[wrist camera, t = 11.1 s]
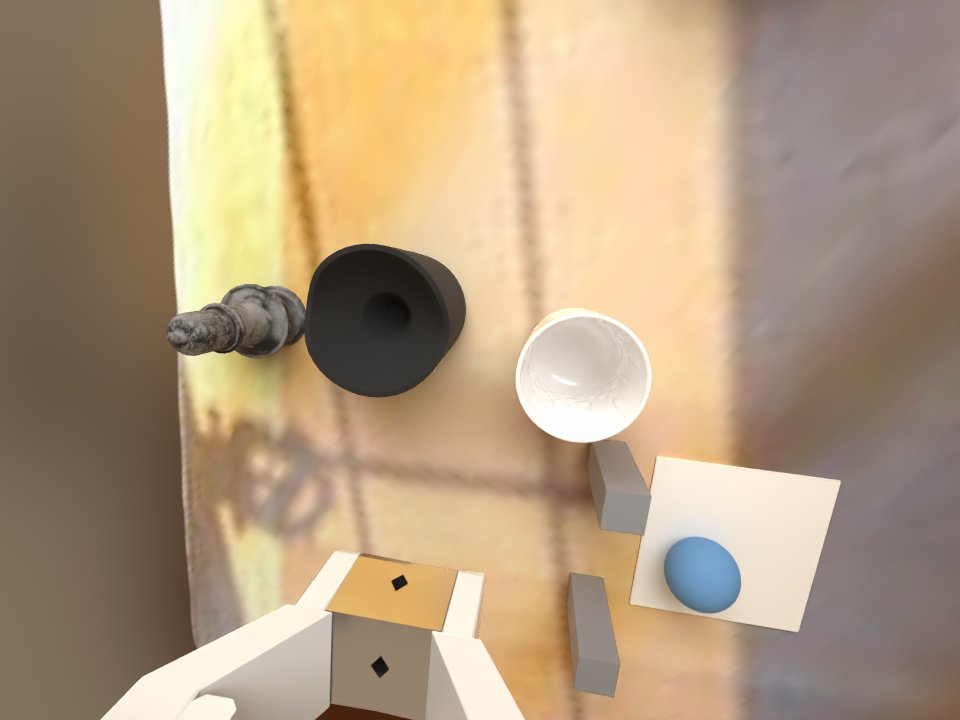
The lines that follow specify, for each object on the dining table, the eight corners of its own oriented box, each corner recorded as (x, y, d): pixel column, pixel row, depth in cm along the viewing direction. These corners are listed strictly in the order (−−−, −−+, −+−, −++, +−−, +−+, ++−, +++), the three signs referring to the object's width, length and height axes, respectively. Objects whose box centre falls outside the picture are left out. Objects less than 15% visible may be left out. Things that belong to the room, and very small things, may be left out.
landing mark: (839, 480, 36) (841, 481, 36) (796, 630, 39) (798, 632, 39) (656, 455, 38) (657, 456, 37) (629, 602, 41) (629, 603, 40)
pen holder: (338, 294, 38) (269, 305, 29) (425, 224, 36) (383, 210, 26) (405, 384, 39) (361, 424, 29) (494, 321, 37) (478, 341, 27)
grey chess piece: (258, 270, 39) (136, 273, 27) (319, 300, 39) (224, 316, 27) (237, 332, 40) (113, 360, 28) (297, 361, 40) (196, 401, 28)
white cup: (518, 392, 38) (511, 437, 28) (525, 297, 36) (519, 309, 27) (616, 400, 37) (643, 448, 27) (627, 302, 35) (659, 317, 26)
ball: (656, 527, 37) (708, 518, 39) (643, 583, 38) (693, 572, 40) (710, 575, 32) (766, 562, 34) (693, 638, 33) (747, 622, 35)
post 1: (625, 442, 38) (651, 496, 29) (620, 473, 38) (644, 535, 29) (591, 438, 38) (606, 490, 29) (586, 469, 39) (600, 529, 30)
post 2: (602, 577, 40) (620, 664, 32) (598, 605, 41) (613, 697, 32) (570, 572, 41) (579, 657, 32) (566, 599, 41) (573, 689, 33)
